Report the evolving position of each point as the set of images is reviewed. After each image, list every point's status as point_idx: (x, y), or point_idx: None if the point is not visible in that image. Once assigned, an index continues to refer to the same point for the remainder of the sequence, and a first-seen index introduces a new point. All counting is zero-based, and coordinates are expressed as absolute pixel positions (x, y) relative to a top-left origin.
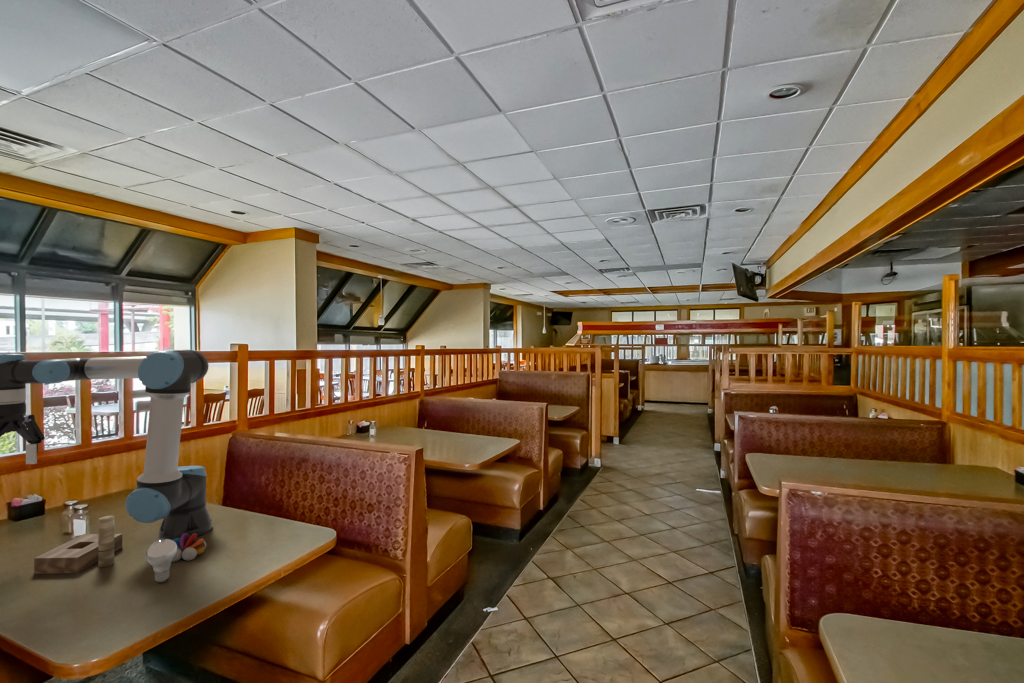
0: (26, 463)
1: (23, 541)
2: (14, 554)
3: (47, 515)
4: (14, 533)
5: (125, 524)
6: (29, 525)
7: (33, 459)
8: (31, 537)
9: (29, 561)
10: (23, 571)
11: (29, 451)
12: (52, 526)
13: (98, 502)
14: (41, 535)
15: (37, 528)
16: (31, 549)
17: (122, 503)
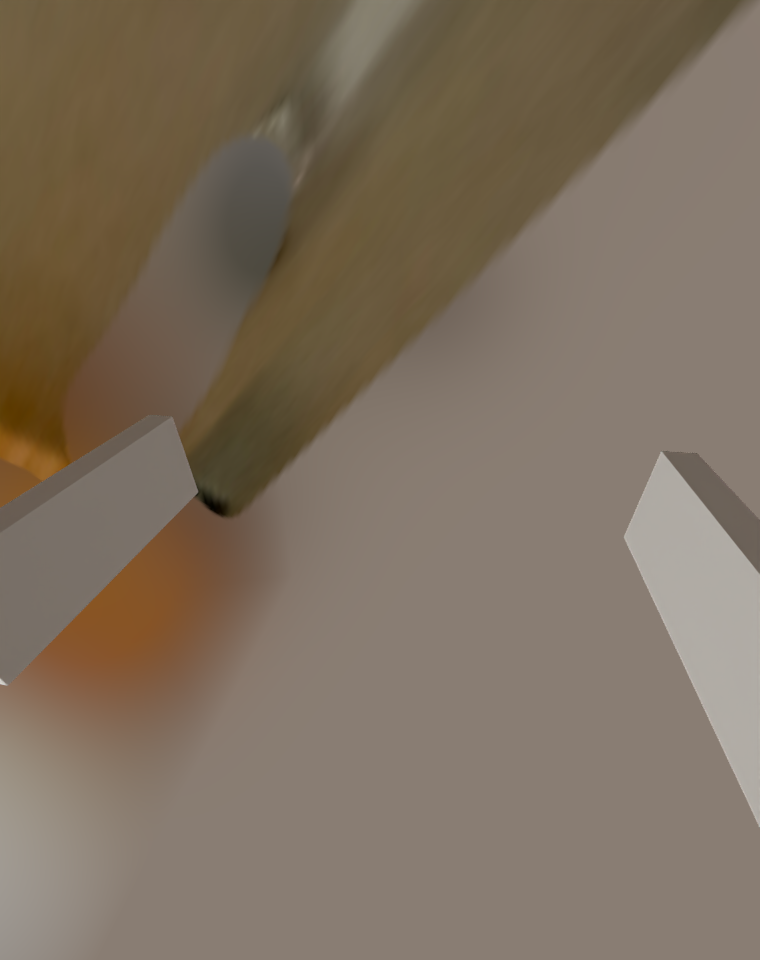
0: (192, 491)
1: (345, 357)
2: (451, 280)
3: None
4: (294, 441)
5: (137, 14)
6: (241, 450)
7: (139, 451)
8: (315, 360)
9: (536, 124)
10: (661, 18)
11: (78, 556)
12: (232, 373)
13: (54, 399)
14: (297, 340)
15: (253, 407)
16: (411, 253)
17: (16, 300)
